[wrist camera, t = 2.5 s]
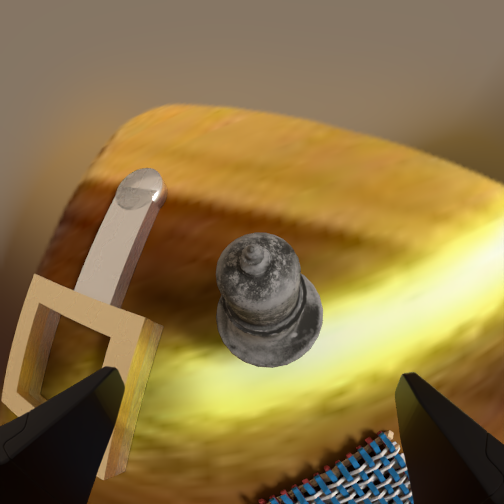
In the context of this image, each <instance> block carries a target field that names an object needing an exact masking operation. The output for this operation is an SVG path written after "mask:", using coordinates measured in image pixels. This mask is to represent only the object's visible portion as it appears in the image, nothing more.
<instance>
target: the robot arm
mask: <svg viewBox="0 0 504 504" xmlns="http://www.w3.org/2000/svg"><path fill="white" fill-rule="evenodd" d="M124 392H125V385H124V382H123V380H122V378H121V375H120V373H119V371H118V369H117V368H115V367H110V366H105V367H103V368H101V369H100V370H98V371H96V372H95V373H93V374H91V375H90V376H88V377H86V378H85V379H83V380H81V381H80V382H78V383H76V384H75V385H73V386H71V387H70V388H68V389H66V390H65V391H63V392H61V393H59V394H58V395H56V396H54V397H53V398H51V399H49V400H48V401H46V402H44V403H42V404H41V405H39V406H37V407H36V408H34V409H32V410H30V411H29V412H27V413H25V414H23V415H22V416H20V417H18V418H16V419H14V420H12V421H11V422H8V423H6V424H4V425H2V426H0V504H87V502H88V499H89V496H90V493H91V490H92V487H93V484H94V481H95V478H96V475H97V473H98V470H99V467H100V464H101V462H102V459H103V456H104V454H105V451H106V448H107V446H108V443H109V440H110V438H111V435H112V433H113V430H114V427H115V424H116V421H117V417H118V413H119V410H120V406H121V402H122V399H123V395H124ZM395 402H396V408H397V416H398V423H399V432H400V439H401V444H402V448H403V452H404V457H405V461H406V466H407V471H408V475H409V480H410V486H411V491H412V497H413V502H414V504H504V444H502V443H501V442H500V441H499V440H497V439H496V438H495V437H494V436H492V435H491V434H490V433H487V431H486V430H485V429H484V428H483V427H481V426H480V425H479V424H478V423H476V422H475V421H474V420H473V419H472V418H470V417H469V416H468V415H467V414H466V413H464V412H463V411H462V410H461V409H459V408H458V407H457V406H456V405H455V404H453V403H452V402H451V401H450V400H448V399H447V398H446V397H445V396H444V395H442V394H441V393H440V392H439V391H437V390H436V389H435V388H434V387H433V386H431V385H430V384H429V383H428V382H426V381H425V380H424V379H423V378H422V377H420V376H419V375H418V374H417V373H415V372H409V373H404V374H402V375H401V377H400V380H399V383H398V386H397V388H396V391H395Z"/></svg>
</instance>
